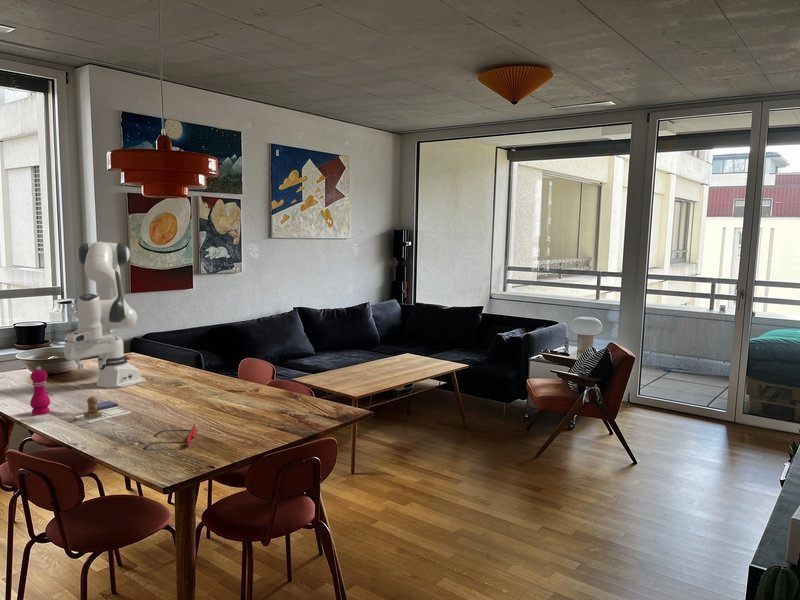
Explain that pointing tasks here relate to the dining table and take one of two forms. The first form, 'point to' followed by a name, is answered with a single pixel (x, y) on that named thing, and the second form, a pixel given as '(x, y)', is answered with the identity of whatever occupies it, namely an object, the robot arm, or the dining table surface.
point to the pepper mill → (39, 393)
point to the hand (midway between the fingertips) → (92, 366)
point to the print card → (105, 414)
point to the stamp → (92, 409)
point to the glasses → (179, 442)
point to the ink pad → (106, 405)
